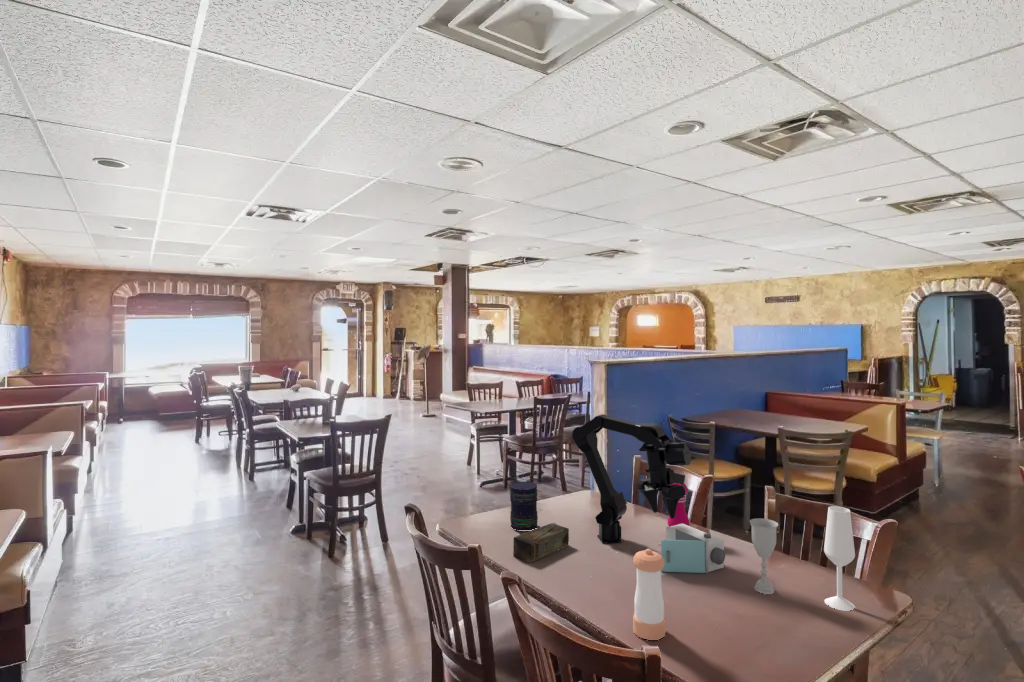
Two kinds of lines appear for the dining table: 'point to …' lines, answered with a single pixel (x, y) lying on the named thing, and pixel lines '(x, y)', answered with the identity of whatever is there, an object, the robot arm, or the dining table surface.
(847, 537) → the champagne flute
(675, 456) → the robot arm
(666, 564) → the hatch
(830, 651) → the dining table surface
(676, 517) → the pepper mill
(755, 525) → the chalice
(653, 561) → the salt shaker
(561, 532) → the beverage carton
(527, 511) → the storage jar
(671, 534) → the case
